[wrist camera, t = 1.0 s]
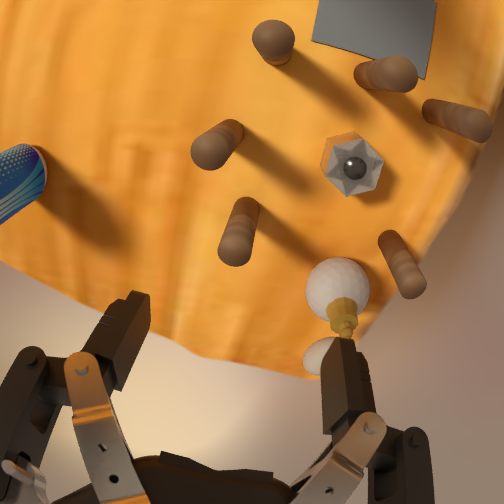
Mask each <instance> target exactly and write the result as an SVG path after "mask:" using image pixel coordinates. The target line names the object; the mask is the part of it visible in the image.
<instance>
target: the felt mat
mask: <svg viewBox="0 0 504 504" xmlns="http://www.w3.org/2000/svg"><path fill="white" fill-rule="evenodd" d="M436 5H437V2H435V1H433V0H319V5H318V10H317V15H316V20H315V25H314V30H313V35H312V40H311V41H314V42H318V43H322V44H326V45H330V46H334V47H337V48H341V49H344V50H348V51H351V52H354V53H357V54H360V55H363V56H366V57H369V58H372V59H375V60H377V59H381V58H386V57H391V56H396V55H398V56H403V57H405V58H407V59H409V60H410V61H411V62H412V63H413V64H414V66H415V67H416V69H417V73H418V77H420V78H422V79H424V78H425V73H426V68H427V63H428V58H429V53H430V47H431V41H432V35H433V28H434V21H435V14H436Z"/></svg>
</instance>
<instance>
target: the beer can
mask: <svg viewBox="0 0 504 504" xmlns="http://www.w3.org/2000/svg"><path fill="white" fill-rule="evenodd" d="M46 181H47V166H46V162H45V159H44V157H43V155H42V154H41V152H40V151H39V150H38V149H36V148H35V147H32V146H30V145H28V144H19V145H17V146H14V147H12V148H10V149H8V150H5V151H3V152H1V153H0V225H1V224H3V223H4V222H5V221H6V220H8V219H9V218H10V217H12V216H13V215H14V214H16V213H17V212H19V211H20V210H21V209H23V208H24V207H25V206H27V205H28V204H30V203H31V202H33V201H34V200H36V199H37V198H38V197H39V196H40V195H41V194H42V192H43V190H44V187H45V184H46Z"/></svg>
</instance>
